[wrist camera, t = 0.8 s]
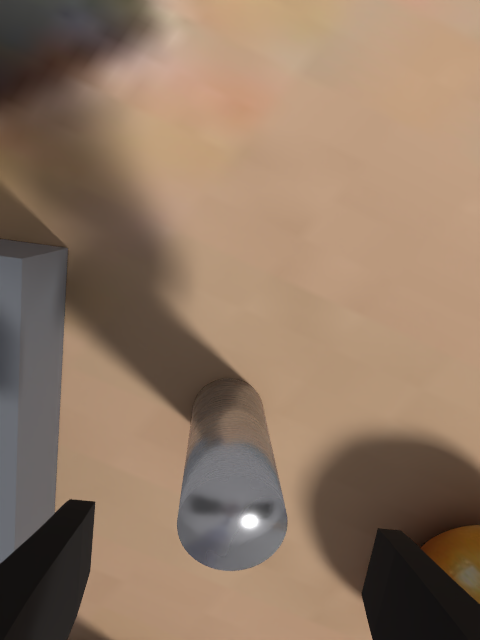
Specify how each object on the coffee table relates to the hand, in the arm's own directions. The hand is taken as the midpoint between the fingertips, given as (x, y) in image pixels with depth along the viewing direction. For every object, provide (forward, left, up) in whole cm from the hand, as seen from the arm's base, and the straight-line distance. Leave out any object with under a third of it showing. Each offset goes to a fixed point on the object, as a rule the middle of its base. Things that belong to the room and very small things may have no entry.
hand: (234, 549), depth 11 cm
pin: (0, 0, -8) cm, 8 cm away
